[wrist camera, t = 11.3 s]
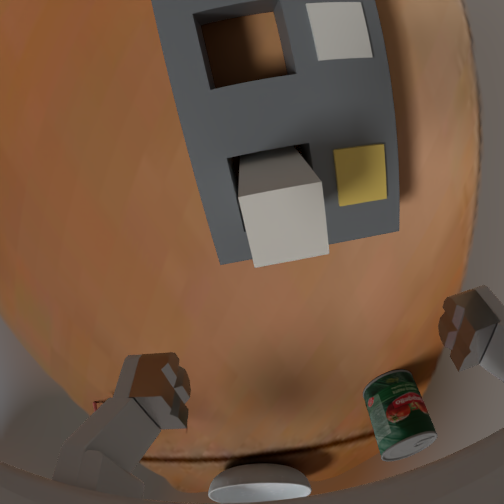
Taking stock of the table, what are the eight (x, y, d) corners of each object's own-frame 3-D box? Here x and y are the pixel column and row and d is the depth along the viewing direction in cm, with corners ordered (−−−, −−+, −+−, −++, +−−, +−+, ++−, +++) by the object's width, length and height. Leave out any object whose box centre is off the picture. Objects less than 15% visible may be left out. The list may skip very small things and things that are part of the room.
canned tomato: (363, 406, 42) (380, 466, 32) (361, 380, 38) (381, 449, 29) (410, 390, 41) (432, 447, 31) (414, 361, 37) (442, 425, 27)
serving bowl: (319, 471, 57) (323, 496, 51) (237, 486, 61) (237, 509, 55) (288, 444, 47) (291, 477, 41) (189, 460, 52) (187, 489, 46)
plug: (240, 153, 23) (238, 197, 15) (291, 143, 23) (321, 181, 14) (250, 200, 25) (254, 267, 17) (299, 191, 25) (329, 253, 16)
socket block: (164, 8, 17) (149, -6, 13) (347, -18, 16) (366, -35, 12) (223, 239, 27) (220, 267, 23) (380, 210, 26) (400, 232, 22)
